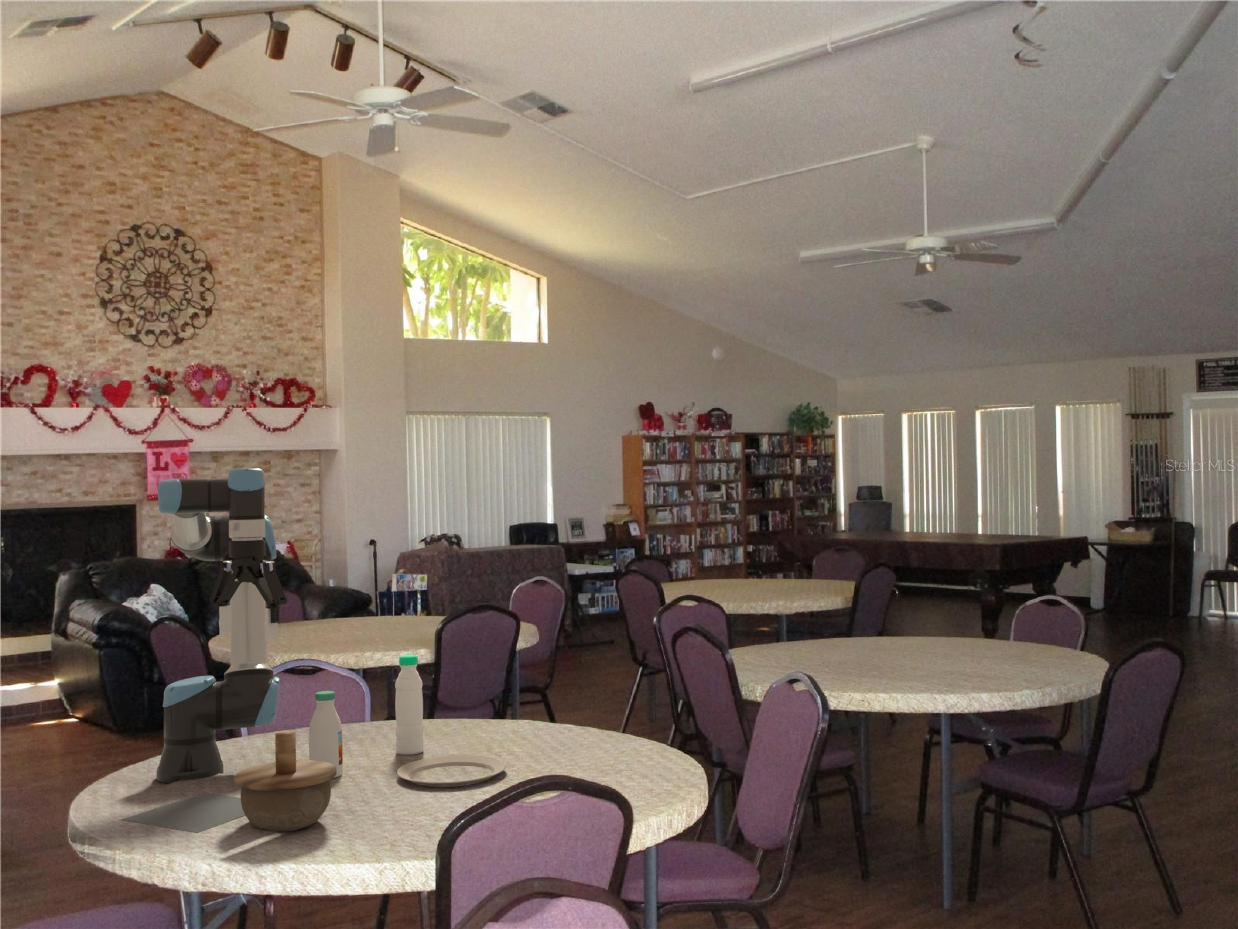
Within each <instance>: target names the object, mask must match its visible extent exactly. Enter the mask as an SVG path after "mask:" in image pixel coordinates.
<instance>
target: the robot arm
mask: <svg viewBox="0 0 1238 929" xmlns="http://www.w3.org/2000/svg"><path fill="white" fill-rule="evenodd" d="M265 485H266V481H265V472H264V470H263V469H261V468H231V469H230V470H229V471H228V477H227V478H189V479H188V478H183V479H182V478H180V479H179V478H173V479H163V480H161V481H160V482H159V483H158V487H157V503H158V504H157V505H158V506H157V507H158V512H160V513H161V514H170V515H171V516H170V517H171V521H172V524H171V525H170V526H171V527H170V532H169V533H170V538H171V541H172V544H173V545H174V546H175V547H176V548H177V549H178V550H179V551H180V552H181V553H182V554H185V555H187V556H188V557H191V558H193V559H197V560H201V561H205V562H220V563H219V564H220V567H219V573H218V575H217V577H216V578H217V579H216V581H215V584H214V587H213V590H212V593H211V594H210V595H211V596H210V598H209V601H210V603H211V604H215V605H216V606H217V620H218V621H219V637H223V638H224V637H228V636H230V637H229V638H230V641H229V642H230V649H229V650H230V667H229V668H228V669H227V670H226V671H225V672H224V674H223V676H224V678H223V679H224V680H222V681H216V678H215V676H213V675H201V676H195V677H189V678H184V679H180V680H177V681H174V682H173V683H170V684H169V685H166V687H165V689H164V692H163V703H162V707H163V749H162V752H161V756H160V759H159V764H158V766H157V768H156V772H155V773H156V781H157V782H159V783H162V784H169V785H171V784H173V783H177V782H180V781H190V780H192V781H193V780H199V779H204V778H208V777H212V776H215V775H218V774H221V775H222V774H224V761H223V759H222V757H221V754H220V750H219V747H218V744H217V742H216V731H221V730H222V731H223V730H235V729H236V730H237V729H242V728H243V729H245V728H254V729H255V728H258V727H265V726H270V725H272V724H273V723H274V722H275V720H276V717H277V716H276V715H277V708H278V701H279V700H278V699H279V689H280V677H278V676H275V675H274V669H273V668H272V667H270V666H269V665H268V658H267V657H268V656H267V654H268V652H267V648H268V646H267V640H273V639H278V637H279V636H278V635H279V631H278V627H279V625H278V623H280V608H281V607H282V606H284V605H287V603H288V600H287V597H286V595H285V592H284V589H283V586H282V584H281V581H280V579H279V576H278V574H277V569H276V563H275V561H273V560H275V559H276V558H277V547H276V539H275V538H276V537H275V532H274V527H273V522H272V520H271V518H270V517H269V516H268V515H266V513H265V506H266V505H265V500H266V499H265V498H266V497H265V496H266V495H265V494H266V493H265V490H266V488H265ZM206 513H228V515H207V514H206ZM266 606H267V607H266Z"/></svg>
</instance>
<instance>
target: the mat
mask: <svg viewBox="0 0 1238 929" xmlns="http://www.w3.org/2000/svg"><path fill="white" fill-rule="evenodd" d="M243 817H246V816H245V814H244V811H243V809H242V805H241V797H238V796H231V795H230V796H229V795H223V794H216V793H210V792H203V793H198V794H196V795H193V796H190V797H187V798H184V799H180V800H177V801H175V802H171V803H168V804H165V805H162V806H159V807H155V808H151V809H149V810H146V811H143V812H140V813H137V814H134V815H130V816H128V817H125V818H124V817H123V818H122V819H120V820H121V821H126V822H132V823H137V824H142V825H148V826H154V827H160V828H165V829H171V830H177V831H184V832H189V833H195V834H198V833H202V832H203V831H206V830H209V829H212V828H215V827H218V826H220V825H223V824H225V823H228V822H231V821H234V820H237V819H240V818H243Z"/></svg>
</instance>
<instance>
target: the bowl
mask: <svg viewBox="0 0 1238 929" xmlns="http://www.w3.org/2000/svg"><path fill="white" fill-rule="evenodd" d="M330 780H331V779H330ZM330 780H328V781H325V782H323V783H320V784H316V785H312V786H308V787H302V788H296V789H287V790H271V791H263V790H249V789H244V788H240V798H241V805H242V809H243V811H244V814H245V816H244V817H246V818H247V820H248V821H249V822H250V823H251V825H253V826H254V827H255V828H257V829H260V830H264V831H270V832H272V831H273V832H275V833H287V832H293V831H298V830H302V829H304V828H308V827H310V826H312V825H313V824H314V823H316V822H317V821H319V819H320V818H321V817H322V816H323V814H324V813H325V812H326V810H327V809H328V807H329V804H330V801H331V795H332V794H331V793H332V785H331V781H330Z"/></svg>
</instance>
